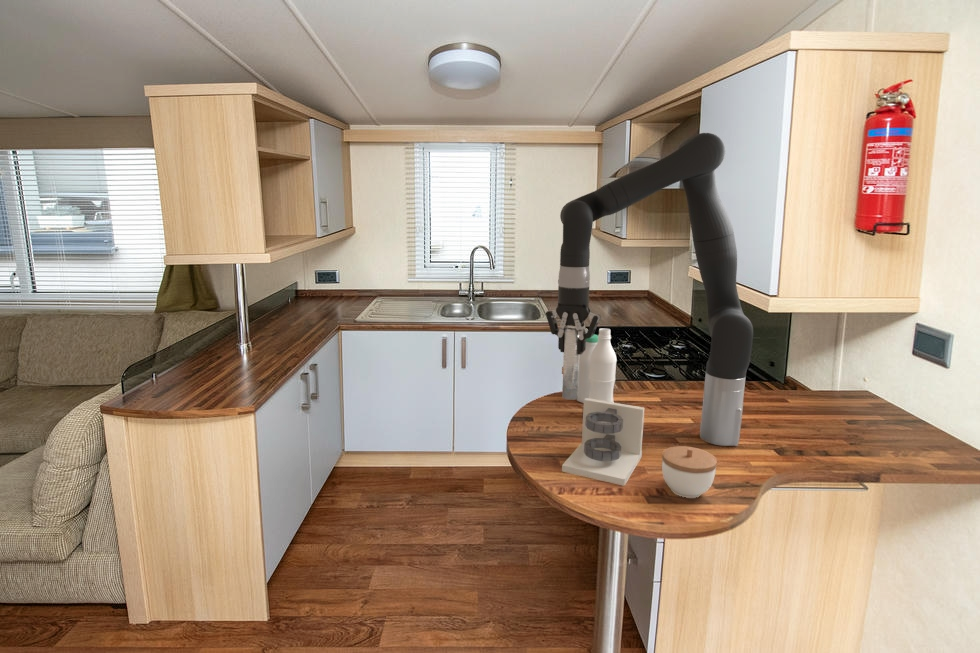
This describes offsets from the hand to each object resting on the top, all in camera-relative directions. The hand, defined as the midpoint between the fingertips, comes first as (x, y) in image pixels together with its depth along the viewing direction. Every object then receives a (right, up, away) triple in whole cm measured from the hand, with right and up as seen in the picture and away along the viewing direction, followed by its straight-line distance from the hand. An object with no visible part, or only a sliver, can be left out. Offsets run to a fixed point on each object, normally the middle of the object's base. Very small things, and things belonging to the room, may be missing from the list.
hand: (571, 352), depth 147 cm
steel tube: (0, -12, +3) cm, 12 cm away
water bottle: (+10, -19, +16) cm, 27 cm away
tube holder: (+5, -25, -13) cm, 29 cm away
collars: (+6, -22, -12) cm, 26 cm away
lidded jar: (+21, -28, -24) cm, 42 cm away
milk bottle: (+9, -16, +30) cm, 35 cm away
